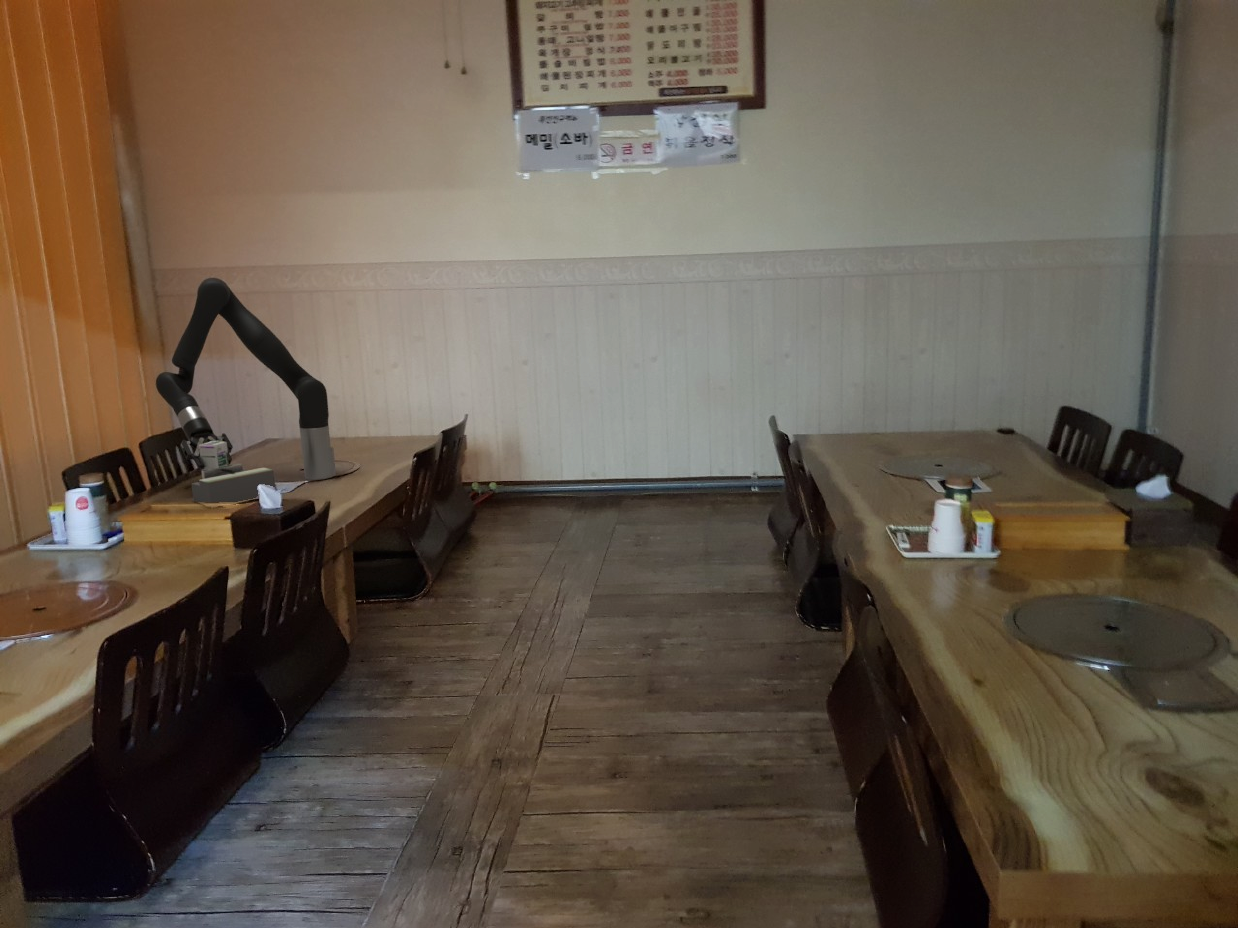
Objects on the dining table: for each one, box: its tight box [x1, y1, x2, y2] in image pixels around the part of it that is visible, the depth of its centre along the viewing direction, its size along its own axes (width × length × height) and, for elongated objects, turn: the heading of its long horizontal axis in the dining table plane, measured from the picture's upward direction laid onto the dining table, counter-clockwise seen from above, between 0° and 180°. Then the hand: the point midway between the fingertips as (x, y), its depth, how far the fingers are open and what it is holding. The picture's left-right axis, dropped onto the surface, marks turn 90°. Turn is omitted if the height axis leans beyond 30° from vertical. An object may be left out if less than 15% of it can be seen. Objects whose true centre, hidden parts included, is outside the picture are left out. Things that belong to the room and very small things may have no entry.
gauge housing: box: [191, 467, 276, 503], centre depth 295 cm, size 20×13×8 cm, turn 137°
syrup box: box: [199, 440, 230, 471], centre depth 301 cm, size 6×6×14 cm
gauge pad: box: [201, 462, 244, 479], centre depth 297 cm, size 12×8×8 cm
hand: (216, 465), depth 300 cm, fingers closed on syrup box, 8 cm apart
